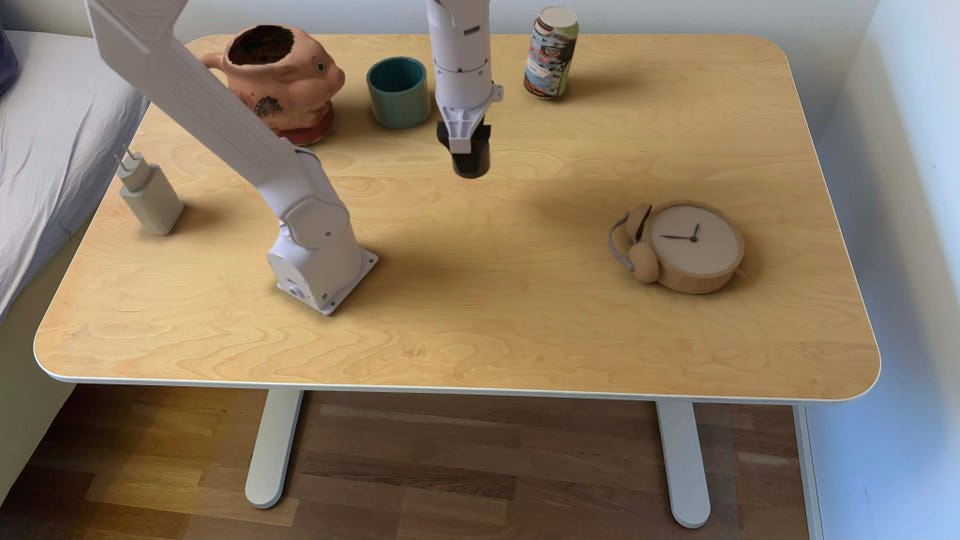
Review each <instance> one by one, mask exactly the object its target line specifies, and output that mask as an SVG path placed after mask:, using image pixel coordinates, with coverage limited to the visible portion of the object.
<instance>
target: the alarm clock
mask: <svg viewBox="0 0 960 540" xmlns="http://www.w3.org/2000/svg"><path fill="white" fill-rule="evenodd" d="M652 209H653V204H650V203H645V202H641V203H640V204H639V203H638V205H636V206H635V207H633V208H632V210H630V211H629V212H628V211H625V212H624V214H623V215H624V217H622V218H620V219H618V220H616V221H615V222H614V223H613V224H612V226H611V227H610V230H609V233H608V235H607V245H608V249H609V251H610V253H611V254H612V256H613V257H614V258H615V259H616V260H617V261H619V262H620V263H622V264H623V265H624V266H625V267H627V271H629V272H630V273H631V275H632V276H633V278H635V279H636V280H638V281H639V282H641V283H644V284H651V283H654V282H658V283H659V284H661V285H662V286H665V287H666V288H669V289H670V290H674V291H675V292H679V293H685V294H690V295H698V294H699V295H700V294H709V293H711V292H714V291H716V290H719V289H721V288H722V287H724V286H725V285H726V284H727V283H728V282H730V280H731V279H732V277H733V275H734V274H736V275H738V276H740V277H742V278H745V276H746V275H747V274H746V273H745V272H744V271H743V270H742V269H740V268H738V267H739V265H740V263H741V262H742V259H743V257H744V255H745V240H744V237H743V235H742V232H741V230H740V228H739V226H738V225H737V224H736V222H734V220H732V218H731V217H730V216H728V215H727V214H726V213H725V212H723V211H721V210H720V209H719V208H717V207H714V206H712V205H709V204H708V203H705V202H701V201H697V200H689V199H681V200H680V199H679V200H671V201H668V202H665V203H662V204H659V205H658V206H657V207H656V208H654V209H653V210H652ZM623 224H624V231H625V235H626V237H627V238H628V239H629V240H630V241H632V243H633V245H632V246H631V247H629V250H628V252H627V257H626V256H625V255H623V254H622V253H621V252H619V250H618V249H617V248H616V247H615V246H616V245H615V244H614V242H613V232H614V231H615V229H617V228H618V227H619V226H622V225H623Z"/></svg>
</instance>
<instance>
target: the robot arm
mask: <svg viewBox="0 0 960 540" xmlns="http://www.w3.org/2000/svg"><path fill="white" fill-rule="evenodd" d="M189 1H190V0H83V4H84V6H85V10H86V11H85V12H86V14H87V18H88V22H89V26H90V29H91V33H92V37H93V40H94V42H95V47H96V49H97V53H98V55H99V57H100V59H101V60H102V61H103V63H104V64H105V65H106V66H107V67H108V68H109V69H111V70H112V71H113V72H114V73H115V74H117V75H118V76H119V77H120V78H121V79H123V80H124V81H125V82H126V83H128V84H129V85H130V86H131V87H132V88H133V89H135V90H136V91H137V92H138V93H139V94H141V95H142V96H143V97H145V98H146V99H147V100H148V101H150V102H151V103H152V104H154V106H156V108H158V109H159V110H160V111H161V112H163V113H164V114H165V115H166V116H168V117H169V118H170V119H171V120H173V121H174V122H175V123H176V124H177V125H179V126H180V127H181V128H182V129H183V130H184V131H186V132H187V133H188V134H190V135H191V136H192V137H193V138H194V139H196V140H197V141H198V142H199V143H200V144H201V145H203V146H204V147H205V148H206V149H208V150H209V151H210V152H211V153H213V154H214V156H216V157H218V158H219V159H220V160H221V161H222V162H224V163H225V164H226V165H227V166H228V167H230V168H231V170H234V172H236V173H237V174H238V175H239V176H241V178H243V179H244V180H245V181H246V182H248V183H249V184H250V185H251V186H253V187H254V188H255V189H256V191H257V192H258V193H259V195H260V196H261V198H262V199H263V200H264V202H265V203H266V204H267V206H268V207H269V208H270V210H271V211H272V213H273V214H274V215H275V217H276V218H277V219H278V225H279V228H280V230H279V233H278V236H277V239H276V241H275V242H274V244H273V246H271V248H269V251H268V252H267V254H266V259H267V262H268V264H269V266H270V268H271V270H272V272H273V273H274V274H273V275H274V276H275V278H276V279H277V284H276V285H277V288H278V289H279V290H281V291H283V292H285V293H286V294H288V295H289V296H292V297H293V298H295V299H297V300H299V301H300V302H302V303H304V304H305V305H307V306H309V307H310V308H312V309H314V310H316V311H317V312H319V313H321V314H323V315H325V316H329V315H331V314H332V313H333V312H334V311H335V310H336V309H337V308H338V307H339V305H340V304H341V303H342V302H343V301H344V300H345V299H346V298H347V297H348V296H349V295H350V293H351V292H352V291H353V290H354V289H355V288H356V286H357V285H358V284H360V282H361V281H362V280H363V279H364V278H365V276H366V275H368V273H370V271H371V270H372V268H373V267H374V266H376V264H377V263H378V262H379V259H380V258H379V256H378V255H377V254H375V253H373V252H371V251H369V250H367V249H365V248H364V247H361V246H359V244H358V241H357V238H356V235H355V231H354V229H353V224H352V223H351V215H350V211H349V209H348V208H347V206H346V204H345V203H344V201H343V200H342V199H341V198H340V197H339V195H338V193H337V191H336V189H335V187H334V186H333V184H332V182H331V181H330V179H329V177H328V175H327V173H326V172H325V170H324V168H323V165H322V161H321V160H320V158H319V156H318V155H317V154H316V153H315V152H313V151H312V150H311V149H307V148H305V147H299V146H298V145H294V144H292V143H291V142H290V141H289V140H288V139H287V138H285V137H282V138H279V137H278V136H277V135H276V134H275V133H274V132H273V131H272V130H271V129H270V128H269V127H267V126H266V125H265V124H264V123H263V122H262V121H261V120H260V119H259V118H258V117H257V116H256V115H255V114H254V113H253V112H252V111H251V110H250V109H249V108H248V107H247V106H246V105H245V104H244V103H243V102H242V101H241V100H240V99H239V98H238V97H237V96H236V95H235V94H233V93H232V92H231V91H230V90H229V89H228V86H227V85H225V84H224V83H223V81H221V80H220V79H219V77H218V76H216V75H215V74H214V73H213V72H212V71H211V70H210V69H208V68H207V67H206V66H205V65H204V64H203V63H202V62H201V61H199V60H198V57H197V56H195V55H194V53H193V52H191V51H190V49H188V48H187V47H186V46H185V44H183V42H181V41H180V40H179V39H178V38H177V37H176V36H175V35H174V29H175V28H174V27H175V25H176V24H177V21H178V20H179V18H180V16H181V15H182V13H183V11H184V9H185V7H186V6H187V4H188V2H189ZM490 2H491V0H425V5H426V15H427V16H426V17H427V24H428V31H429V32H428V33H429V39H430V45H431V46H430V48H431V55H432V63H433V71H434V72H433V73H434V79H435V86H436V87H435V91H434V92H435V94H434V95H435V101H436V104H437V107H438V109H439V112H440V114H441V117H442V118H443V120H437V123H436V130H435V133H436V138H437V141H438V142H439V143H440V144H441V145H443V146H444V147H445V148H446V149H447V151H448V152H449V153H450V155H452V156H451V158H452V157H453V160H454V162H455V164H456V166H457V168H458V170H459V172H460V173H477V172H478V169H479V166H480V159H481V153H482V150H483V148H484V146H485V145H486V144H487V142H488V141H489V142H490V138H491V135H492V124H485V117H486V114H487V111H488V110H489V108H490V107H491V105H492V104H493V103H500V102H502V101H503V100H504V92H505V91H504V86H503V85H502V84H495V82H494V80H493V78H492V56H491V55H492V54H491V32H490Z"/></svg>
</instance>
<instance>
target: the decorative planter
mask: <svg viewBox="0 0 960 540" xmlns="http://www.w3.org/2000/svg"><path fill="white" fill-rule="evenodd" d="M197 59H198V60H199V61H201V62H202V63H203V64H204V65H205V66H206V67H207V68H208V69H209V70H210V69H216V70H218V71H221V72H222V73H224V75H225V77H226V79H227V88H228V89H229V90H230V91H231V92H232V93H233V94H235V95H236V96H237V97H238V98H239V99H240V100H241V101H242V102H243V103H244V104H245V105H246V106H247V107H248V108H249V109H250V110H251V111H252V112H253V113H254V114H255V115H256V116H257V117H258V118H259V119H260V120H261V121H262V122H263V123H264V124H265V125H266V126H267V127H269V128H270V129H271V130H272V131H273V132H274V133H275V134H276V135H277V136H278V137H279V138H282V137H285V138H287V139H288V140H289V141H290V142H291V143H292V144H294V145H295V146H307V145H310V144H313V143H317V142H318V141H320V140H321V139H323V137H325V136H326V135H327V134H328V133H329V132H330V130H331V129H332V127H333V125H334V119H335V112H334V107H333V103H332V101H331V99H332V98H333V97H334V96H335V95H336V94H338V92H340V91H341V90H342V88H343V87H344V86H345V84H346V73H345V72H344V70H343V69H342V68H340V67H339V66H337V64H336V62H335V60H334V58H333V56H331V54H329V53H328V52H327V50H326V49H325V47H324V45H322V43H320V42H319V41H318V40H316V39H314V38H313V37H312V36H311V35H310V34H308V32H306V31H305V30H303V29H302V28H299V27H293V26H289V25H284V24H279V23H259V24H254V25H251V26H249V27H245V28H244V29H242V30H240V31H239V32H237V33H236V34H235V35H234V36H233V37H231V39H230V40H229V41H228V43H227V44H226V47H225V49H224V51H221V52H209V53H205V54H203V55H202V54H201V56H199V57H197Z"/></svg>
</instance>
